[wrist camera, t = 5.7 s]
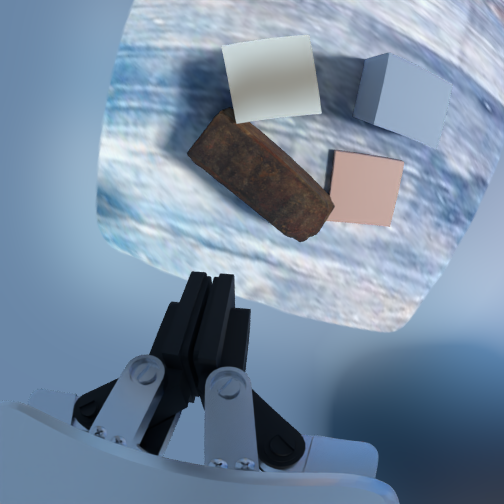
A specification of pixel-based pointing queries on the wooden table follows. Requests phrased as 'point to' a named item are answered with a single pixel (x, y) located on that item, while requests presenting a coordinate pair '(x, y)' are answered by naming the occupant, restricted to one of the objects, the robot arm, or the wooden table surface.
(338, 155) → the tile
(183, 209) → the wooden table surface
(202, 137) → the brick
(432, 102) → the slate block
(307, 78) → the pale grey cube
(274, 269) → the wooden table surface
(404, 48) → the wooden table surface
